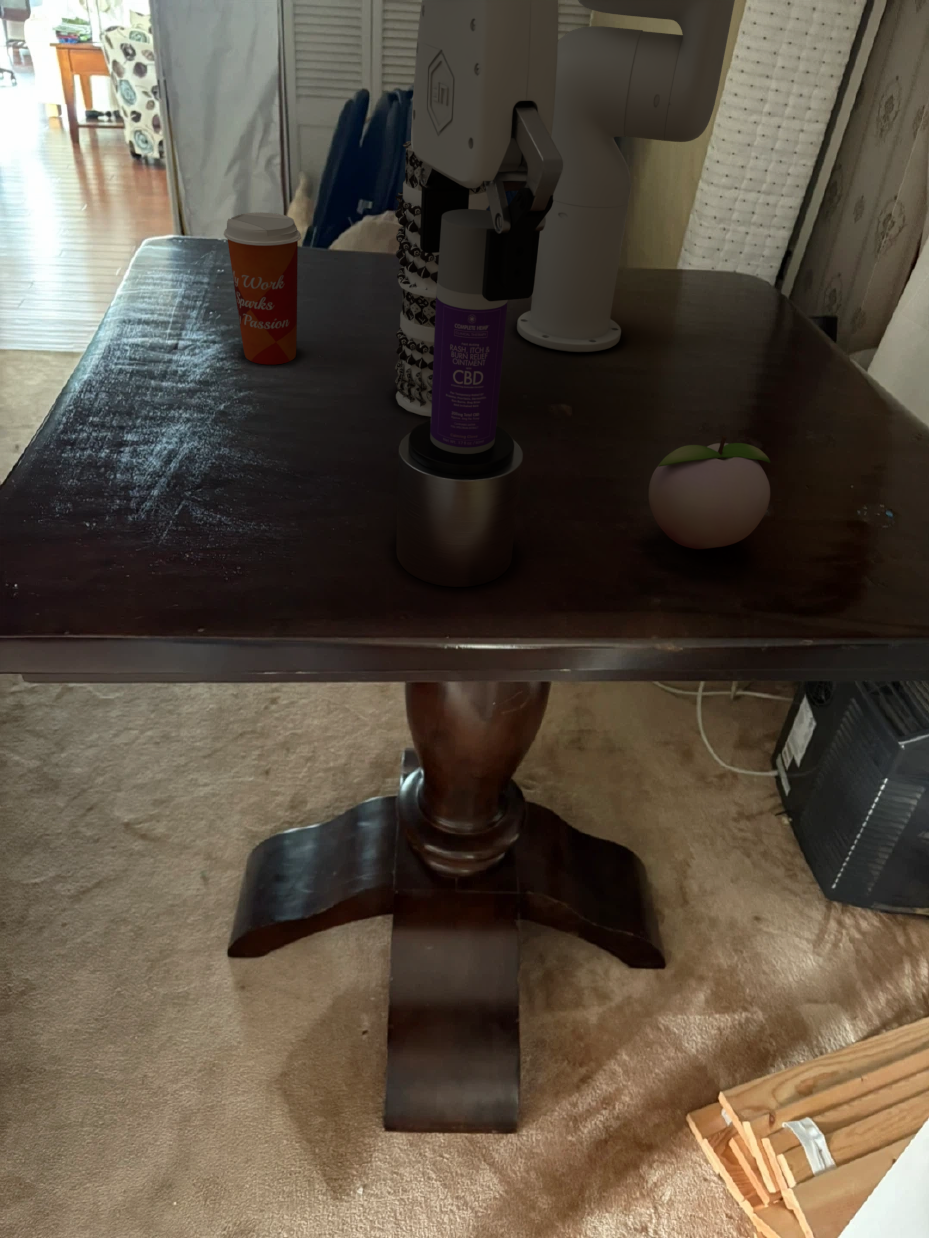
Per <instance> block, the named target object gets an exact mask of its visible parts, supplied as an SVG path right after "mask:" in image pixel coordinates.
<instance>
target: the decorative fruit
mask: <svg viewBox="0 0 929 1238" xmlns="http://www.w3.org/2000/svg"><path fill="white" fill-rule="evenodd" d="M759 461H763V462H765V463H767V464H771V460H770V458H769V457H768V455H767V454H766V453H764V451H762V450H761V449H760V448H758V447H756V446H754V445H751V444H748V443H742V442H731V443H727V435H725V434H723V435H722V436H721V438H720V442H718V443H713V444H710V445H707V446H705V445H700V444H687V445H684V446H680V447H678V448H676V449H673V451H671V452H670V453H668V454H667V455H666V456H665V457H664V458H663V459H662V460H661V461H660V462H659V463H658V465H657V466H656V468H655V469H654V471H653V473H652V475H651V477H650V481H649V484H648V494H647V495H648V504H649V508H650V512H651V514H652V516H653V518H654V520H655V522H656V524H657V526H658V527H659V529H661V531H662V532H663V533H664V534H665V535H666V536H667V537H668V538H669V539H670V540H671V541H673V542H674V543H676V544H678V545H680V546H682V547H685V548H689V549H693V550H705V549H706V550H707V549H713V548H721V547H727V546H730V545H734V544H736V543H738V542H740V541H743V540H745V539H746V538H747V537H748V536H749V535H751V534H752V533H753V532H754V531H755V529H756V528H757V527H758V525H759V524H760V523H761V521H762V519H763V518H764V516H765V514H766V512H767V510H768V507H769V504H770V500H771V486H770V481H769V479H768V476H767V474H766V472H765V471H764V468H763V467H762V465H761V464H760V462H759Z"/></svg>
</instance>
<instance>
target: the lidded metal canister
mask: <svg viewBox="0 0 929 1238" xmlns="http://www.w3.org/2000/svg"><path fill="white" fill-rule="evenodd" d="M430 428H431V419H430V420H427V421H424V422H422V423H420V424H419V425H417V426H415V427H414V428H413V429H412V430H411V431H410V432H409V433H408V434H406V435H405V436H403V438H402V439H401V440H400V442H399V444H398V456H397V457H398V460H397V461H398V462H397V500H396V501H397V503H396V504H397V506H396V507H397V508H396V547H395V548H396V551H395V552H396V558H397V561H398V562H399V564H400V566H401V567H402V568H403V570H405V571H406V572H407V573H408V574H410V575H411V576H413V577H415V578H417V579H418V580H421V581H423V582H425V583H428V584H429V583H430V584H432V585H437V586H441V587H447V588H450V587H451V588H469V587H476V586H480V585H484V584H488V583H490V582H492V581H495V580H497V579H498V578H499V577H501V576H502V575H504V574H505V573H506V572H507V570H508V569H509V568H510V565H511V563H512V560H513V559H512V558H513V549H514V541H515V533H516V522H517V515H518V514H517V513H518V505H519V495H520V488H521V478H522V469H523V461H524V452H523V450H522V448H521V446H520V445H519V444H518V442H517V441H515V439H513V437H512V436H511V434H510V433H509V432H508V431H506V429H504V428H502V427H500V426H498V425H496V435H495V443H494V445H493V446H492V447H491V448H490V449H488V450H486V451H484V452H480V453H475V454H458V453H452V452H448V451H445V450H442V449H440V448H438V447H437V446H435V445H434V444H433V443H432V441H431V439H430Z"/></svg>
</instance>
